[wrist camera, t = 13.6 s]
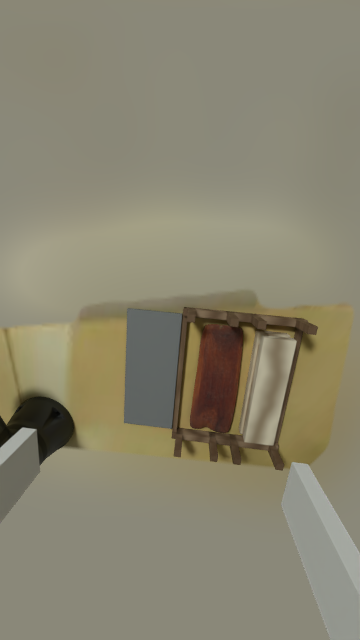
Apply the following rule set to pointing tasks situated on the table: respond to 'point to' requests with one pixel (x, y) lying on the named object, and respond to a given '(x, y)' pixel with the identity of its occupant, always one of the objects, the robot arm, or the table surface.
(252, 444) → the rack
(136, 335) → the mat
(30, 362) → the table surface
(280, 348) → the offcut stack
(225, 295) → the table surface
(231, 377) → the wooden tablet
